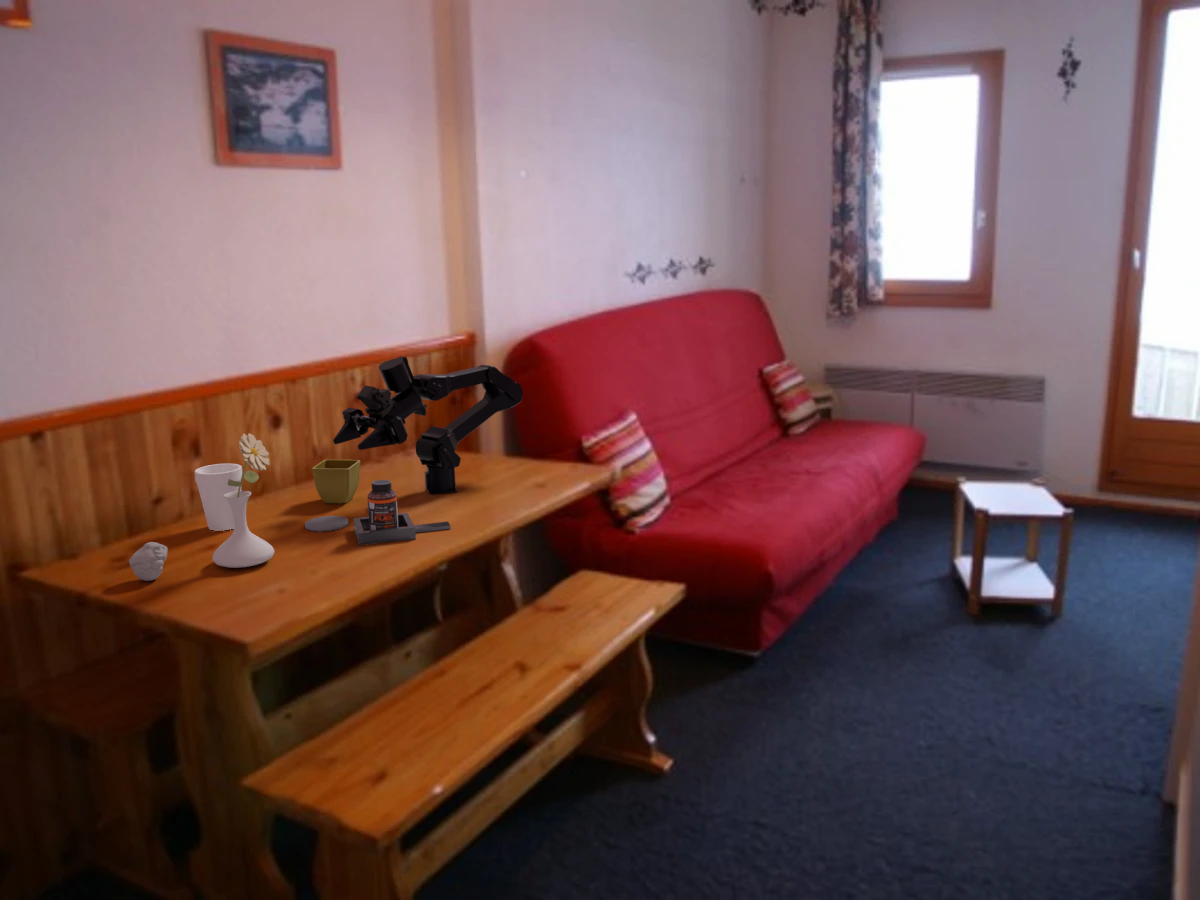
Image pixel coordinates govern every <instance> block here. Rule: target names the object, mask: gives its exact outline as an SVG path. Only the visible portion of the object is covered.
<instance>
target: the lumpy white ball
mask: <svg viewBox="0 0 1200 900" xmlns="http://www.w3.org/2000/svg"><path fill="white" fill-rule="evenodd" d="M168 552H169V551H168V546H167V545H164V544H161V543H159V542H156V541H155V542H154V541H149V542H147V543H145V544H143V546H141V548H139V549H138V550H137V551H136V552H135V553H134V554H132V555H131V557H130V558H129V562H128V563H129V565H130V568H131V569H132V570H133V573H134V575H135V577H137V578H138V579H139V580H142V581H145V582H149V581H153V580H156V579H158V578H159V576H161V574H162V572H163V570H164V569H163V568H164V564H165V562H166V560H167V558H168Z"/></svg>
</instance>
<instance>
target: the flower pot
mask: <svg viewBox="0 0 1200 900" xmlns="http://www.w3.org/2000/svg"><path fill="white" fill-rule="evenodd" d="M360 470H361V460H359V459H323V460H322V461H320V462H319V463H318V464H316V465H314V466H313V467H312V469H311V471H312V475H313V480H314V484H315V485H314V486H315V489H316V492H317V494H318V495H319V497H320V499H321V500H322V501H323V503H325V504H342V503H345V504H347V503H348V502H350V501H351V500H352V499H353V498H354V496H355V493H356V492H357V490H358V488H359V487H358V486H359V483H360V475H361V474H360V473H361V472H360Z"/></svg>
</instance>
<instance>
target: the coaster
mask: <svg viewBox="0 0 1200 900" xmlns="http://www.w3.org/2000/svg"><path fill="white" fill-rule="evenodd" d="M348 525H349V519H348V518H347V517H345V516H340V515H324V516H323V515H322V516H319V517H318V516H317V517H314V518H312V519H308V520H307V521H305V523H304V527H305V530H307V531H309V530H310V532H314V531H317V532H316V533H323V532H322V531H327V532H333V531H332V530H334V531H338V530H341V529H340V528H342V529H344V528H346V527H348ZM345 526H346V527H345ZM343 527H344V528H343ZM337 529H338V530H337Z"/></svg>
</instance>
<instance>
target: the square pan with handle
mask: <svg viewBox="0 0 1200 900" xmlns="http://www.w3.org/2000/svg"><path fill="white" fill-rule="evenodd" d="M352 519H353V529H354V530H355V531H354V532H355V533H354V534H355V537H356V540H357V544H358V543H359V544H358V546H367V545H366V544H368V545H375V544H374V543H377V544H383V542H385V543H391V542H392V543H395V542H400V541H401V542H403V541H410V540H416V539H417V535H416V534H417V533H419V534H420V533H427V532H436V531H445V530H451V524H450V522H449V521H441V522H430V523H422V524H414V522H413V521H412V519H411V517H410V515H409V513H408V512H399V513H398V528H389V529H380V530H371V531H370V530H367V529H369V516H363V517H353V518H352Z"/></svg>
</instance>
